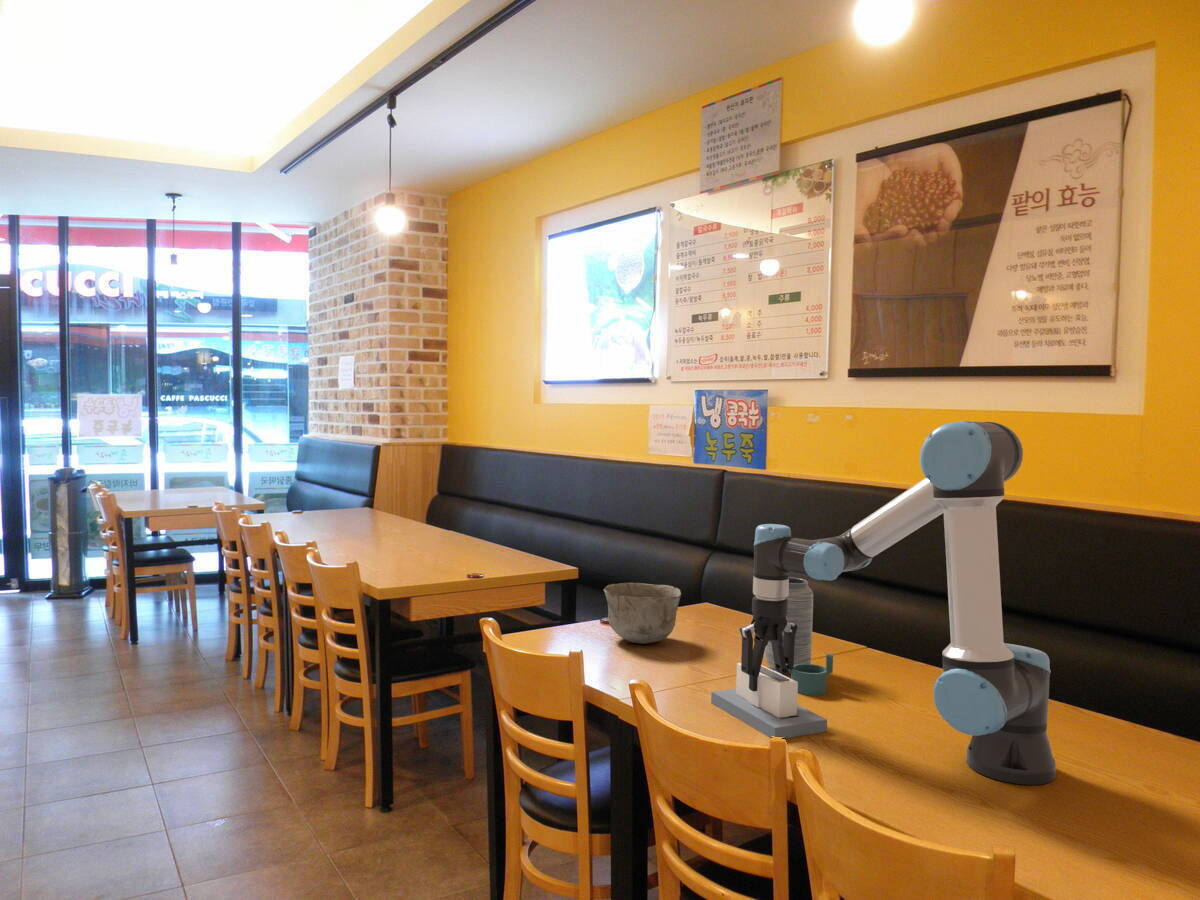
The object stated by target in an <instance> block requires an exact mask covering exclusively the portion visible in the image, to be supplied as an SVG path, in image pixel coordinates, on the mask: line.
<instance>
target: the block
mask: <svg viewBox="0 0 1200 900" xmlns="http://www.w3.org/2000/svg"><path fill="white" fill-rule="evenodd" d="M759 676H761V677H762V697H761V707H760V708H762V709H764V710H766V711H767V712H769V713H771V714H773V715H775V716H776V717H778V718H780V719H786V718H789V716H794V715H797V704H798V694H799V693H798V682H797V681H795V680H792V679H791V678H790V677H788V676H786V675H785V676H784V675H782V674H780V673H778V672H775V671H773V670H771V668H770V667H769V668H768V667H766V666H764V665H763V664H761V669H760V673H759ZM735 677H736V680H735V681H736V682H735V683H736V684H735V689H736V695H738V696H740V697H742V698H743V699H745V700H747V701H749V702H751V690H750V689H749V675H748V674H746V673H744V672H742V671H741V662H737V663H736V676H735Z"/></svg>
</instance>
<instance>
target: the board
mask: <svg viewBox="0 0 1200 900" xmlns="http://www.w3.org/2000/svg"><path fill="white" fill-rule="evenodd" d="M710 695H711V700H710V701H711V704H713V705H714V706H716V707H717V708H719V709H721V710H723V711H724V712H726V713H728V714H729V715H731V716H733V717H735V718H736V719H738V720H740V721H741V722H743V723H745V724H747V726H750V727H751V728H753V729H754V730H757V731H759V732H760V733H762V734H764V735H765V736H766V737H768V738H770V737H771V736H775V737H785V739H790V738H795V737H801V736H802V737H803V736H808V735H814V734H819V733H826V732H827V731H828V719H827V718H824V717H823V716H822V715H819V714H818V713H815V712H813V711H811V710H810V709H808V708H805V707H803V706H801V705H799V704H798V703H797V715H794V716H789V718H786V719H780V718H778V717H776V716H775V715H773V714H771V713H769V712H767V711H766V710H764V709H762V708H760V707H756V706H755V705H753V704H751V702H749V701H747V700H745V699H743V698H742V697H740V696H738V695H736V688H730V689H723V690H716V691H715V690H714V691H711V694H710Z"/></svg>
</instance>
